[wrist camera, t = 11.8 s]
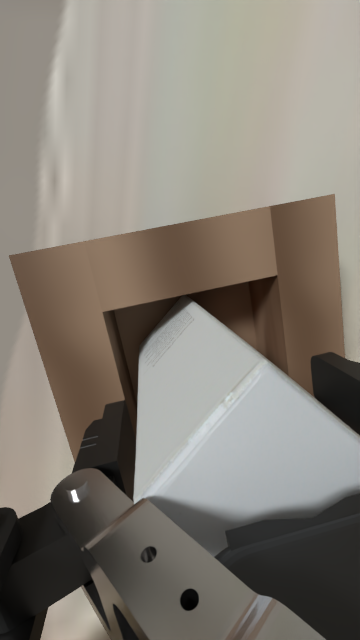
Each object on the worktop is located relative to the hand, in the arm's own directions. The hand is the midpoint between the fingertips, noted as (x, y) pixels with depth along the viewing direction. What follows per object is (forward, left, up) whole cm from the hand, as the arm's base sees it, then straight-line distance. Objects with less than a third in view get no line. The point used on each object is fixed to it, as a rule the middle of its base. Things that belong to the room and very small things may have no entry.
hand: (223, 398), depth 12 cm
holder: (0, 0, -7) cm, 7 cm away
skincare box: (0, 0, -7) cm, 7 cm away
